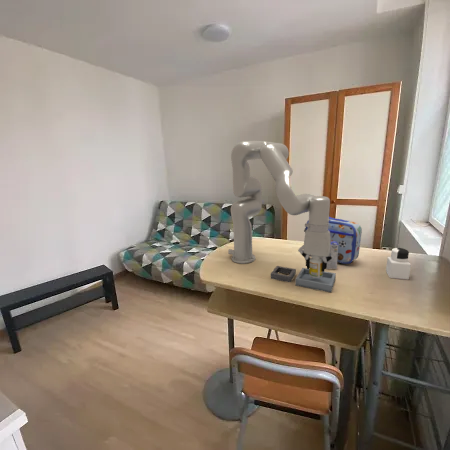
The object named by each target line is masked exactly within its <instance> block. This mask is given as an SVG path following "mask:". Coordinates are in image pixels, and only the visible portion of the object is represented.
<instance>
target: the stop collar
mask: <svg viewBox="0 0 450 450" xmlns="http://www.w3.org/2000/svg"><path fill="white" fill-rule="evenodd" d="M296 275H297V268H291V267H286V266H285V267H284V266H279V265H277V266H275V268H274V269H273V270H272V271H271V272H270V277H269V278H270V280H275V281H279V282H280V281H281V282H284V283H285V282H286V283H292V281H293V279H294V278H295V277H296Z"/></svg>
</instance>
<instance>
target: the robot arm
mask: <svg viewBox="0 0 450 450" xmlns="http://www.w3.org/2000/svg"><path fill="white" fill-rule="evenodd" d="M289 153H290V152H289V149H288V146H287V145H285V144H284V143H281V142H273V141H266V140H243V141H239V142H237V143H236V144H234V146H233V148H232V150H231V153H230V161H231V166H232V190H233V194H234V196H235V197H236V198H243V199H240V200H236V201H235V202H233V203H232V204H231V207H230V216H231V218H232V226H233V227H232V229H233V230H232V231H233V249H231V248H229V249H228V251H227V252H228V255H232V256H231V261H232V262H233V263H236V264H241V265H242V264H250V263H253V262H254V261H256V255H254V254H253V228H252V227H253V226H252V222H251V221H250V217H254V216H257V215H259V214H260V213H261V211H262V206H263V188H262V187H263V185H262V183H261V180H260V179H259V178H258V177H256V176H251V168H250V165H249V163H248V161H250V160H251V161H253V160H254V161H255V160H261V161H262V163H263V164H264V166H265V167H266V169H267V170H268V172H269V174H270V175H271V177H272V179H274V190H275V194H276V198H277V200H278V202H279V203H280V205H281V206H282V208H283V209H284V211H285V212H286V213H288V215H291V216H298V215H301V214H305V213H307V212H308V220H309V223H307V222H306V223H307V224H306V223H305V224H304V227H305V228H306V227H308V229H307V230H306V233H305V232H304V239H303V245H302V246H300V247H299V248H298V249H297V250H298V253H300V254H301V255H302V257H304V260H305V266H306V268H307V269H309V261H310V258H311V255H314V256H321V257H323V260H324V261H323V264H322V271H323V272H324V271H325V270H328V269H327V262H328V261H329V260H331V259H332V258H334V257H336V255H337V254H336V253H335V251H334V250H333V249H332V248H331V237H330V231H329V230H328V225H329V217H330V210H331V208H330V205H331V199H330V198H329V196H324V195H314V194H310V193H302V194H298V195H296V194H295V192H294V191H293V189H292V187H291V185H290V178H291V176H292V175H293V170H294V169H293V168H292V167H291V165H290V163H289V162H288V158H289ZM330 253H331V254H332V255H330V256H329V254H330Z"/></svg>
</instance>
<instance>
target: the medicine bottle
mask: <svg viewBox="0 0 450 450" xmlns="http://www.w3.org/2000/svg"><path fill="white" fill-rule="evenodd" d="M409 253H410V252H409V250H408V249H406V248H403V247H395V248H392V249H391V253H390V256H387V258H386V259H387V260H386V267H385V272H386V274H387V276H388V277H389V278H390V279H399V280H409V279H410V274H411V268H412V263H410V261H409Z"/></svg>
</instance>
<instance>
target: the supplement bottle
mask: <svg viewBox="0 0 450 450" xmlns="http://www.w3.org/2000/svg"><path fill="white" fill-rule="evenodd" d="M322 264H323V259H322V258H321V256H314V255H310V261H309V275H310V276H311V277H313V278H320V277H322V276H323V271H322Z"/></svg>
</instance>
